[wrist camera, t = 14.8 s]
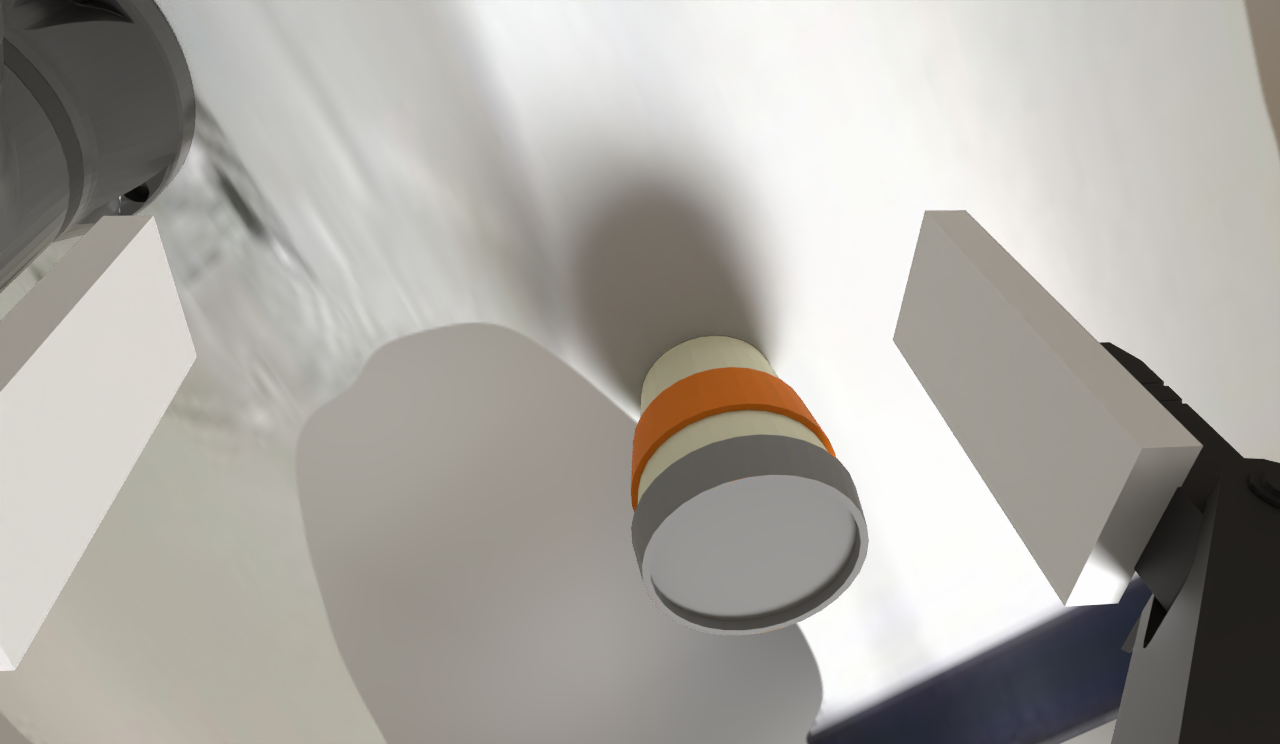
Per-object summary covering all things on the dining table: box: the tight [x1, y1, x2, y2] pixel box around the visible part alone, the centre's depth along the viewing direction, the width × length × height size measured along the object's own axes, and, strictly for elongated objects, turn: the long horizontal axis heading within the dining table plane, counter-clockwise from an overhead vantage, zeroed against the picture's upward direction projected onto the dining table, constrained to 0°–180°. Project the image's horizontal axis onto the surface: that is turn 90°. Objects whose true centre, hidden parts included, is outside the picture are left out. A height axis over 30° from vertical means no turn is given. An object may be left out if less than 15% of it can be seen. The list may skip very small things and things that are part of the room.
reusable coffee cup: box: [631, 336, 869, 635], centre depth 50 cm, size 12×13×15 cm
